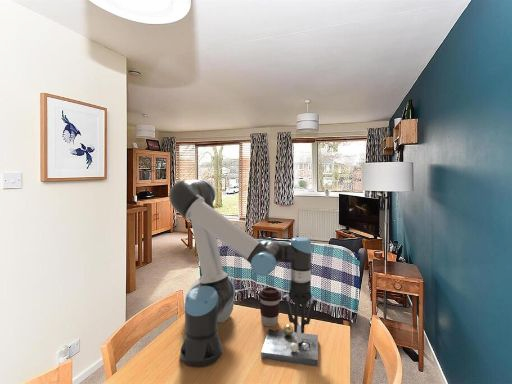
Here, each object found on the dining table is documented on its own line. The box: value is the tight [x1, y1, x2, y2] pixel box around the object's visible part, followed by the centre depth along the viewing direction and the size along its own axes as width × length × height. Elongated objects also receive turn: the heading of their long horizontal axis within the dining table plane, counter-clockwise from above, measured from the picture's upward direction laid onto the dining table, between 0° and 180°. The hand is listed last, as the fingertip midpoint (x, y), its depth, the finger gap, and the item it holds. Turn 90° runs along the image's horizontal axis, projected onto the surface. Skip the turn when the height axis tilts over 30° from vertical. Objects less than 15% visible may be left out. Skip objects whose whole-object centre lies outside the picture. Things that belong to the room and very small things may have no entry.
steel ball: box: [301, 343, 309, 349], centre depth 111 cm, size 3×3×3 cm
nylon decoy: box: [290, 343, 298, 352], centre depth 107 cm, size 3×3×3 cm
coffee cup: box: [258, 286, 282, 327], centre depth 131 cm, size 10×10×15 cm
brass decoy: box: [282, 324, 294, 336], centre depth 118 cm, size 4×4×4 cm
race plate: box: [260, 328, 319, 368], centre depth 112 cm, size 20×16×2 cm
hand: (298, 340), depth 111 cm, fingers closed
